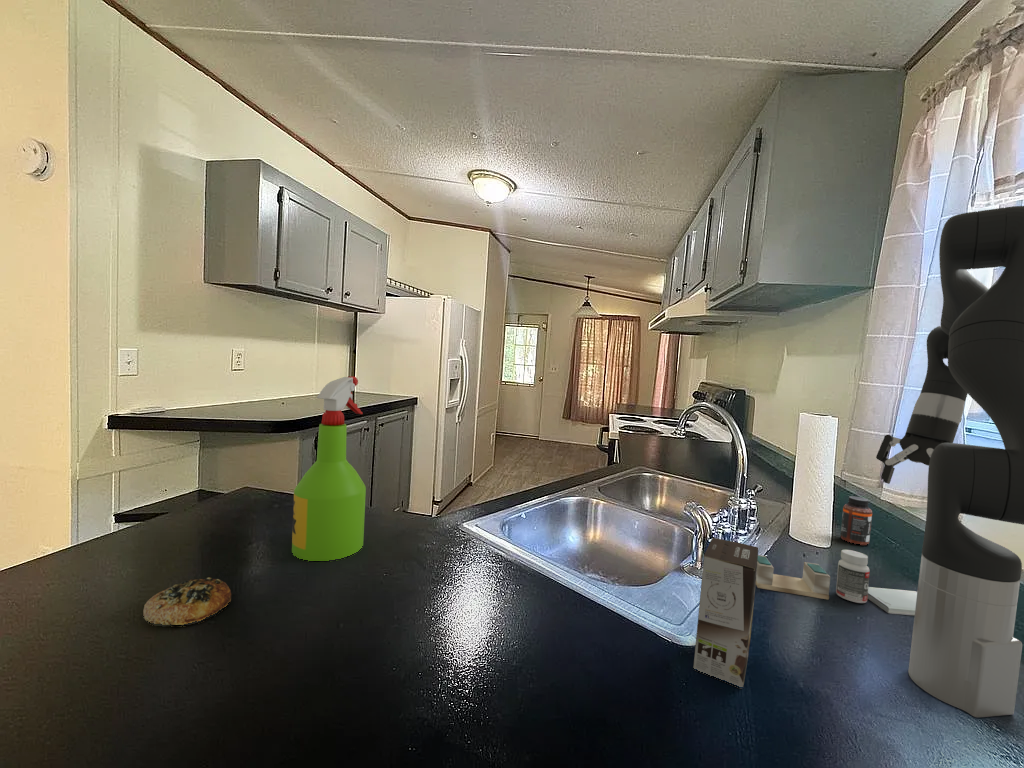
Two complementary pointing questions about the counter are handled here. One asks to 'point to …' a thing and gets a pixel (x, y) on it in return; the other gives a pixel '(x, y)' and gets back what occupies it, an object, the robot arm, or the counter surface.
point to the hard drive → (894, 600)
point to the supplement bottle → (856, 521)
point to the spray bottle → (330, 487)
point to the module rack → (794, 580)
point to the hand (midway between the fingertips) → (911, 490)
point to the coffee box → (726, 610)
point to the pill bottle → (853, 576)
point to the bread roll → (187, 602)
